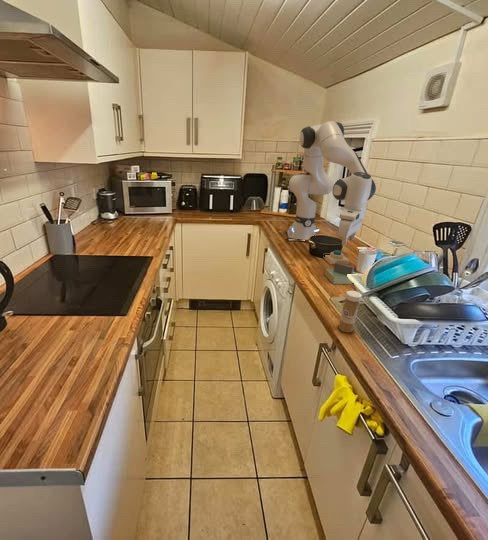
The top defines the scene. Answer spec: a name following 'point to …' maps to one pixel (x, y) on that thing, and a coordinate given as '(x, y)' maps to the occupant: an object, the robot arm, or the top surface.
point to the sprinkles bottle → (349, 311)
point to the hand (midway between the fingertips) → (347, 242)
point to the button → (337, 252)
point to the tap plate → (337, 277)
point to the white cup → (365, 260)
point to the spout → (343, 268)
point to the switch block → (336, 258)
